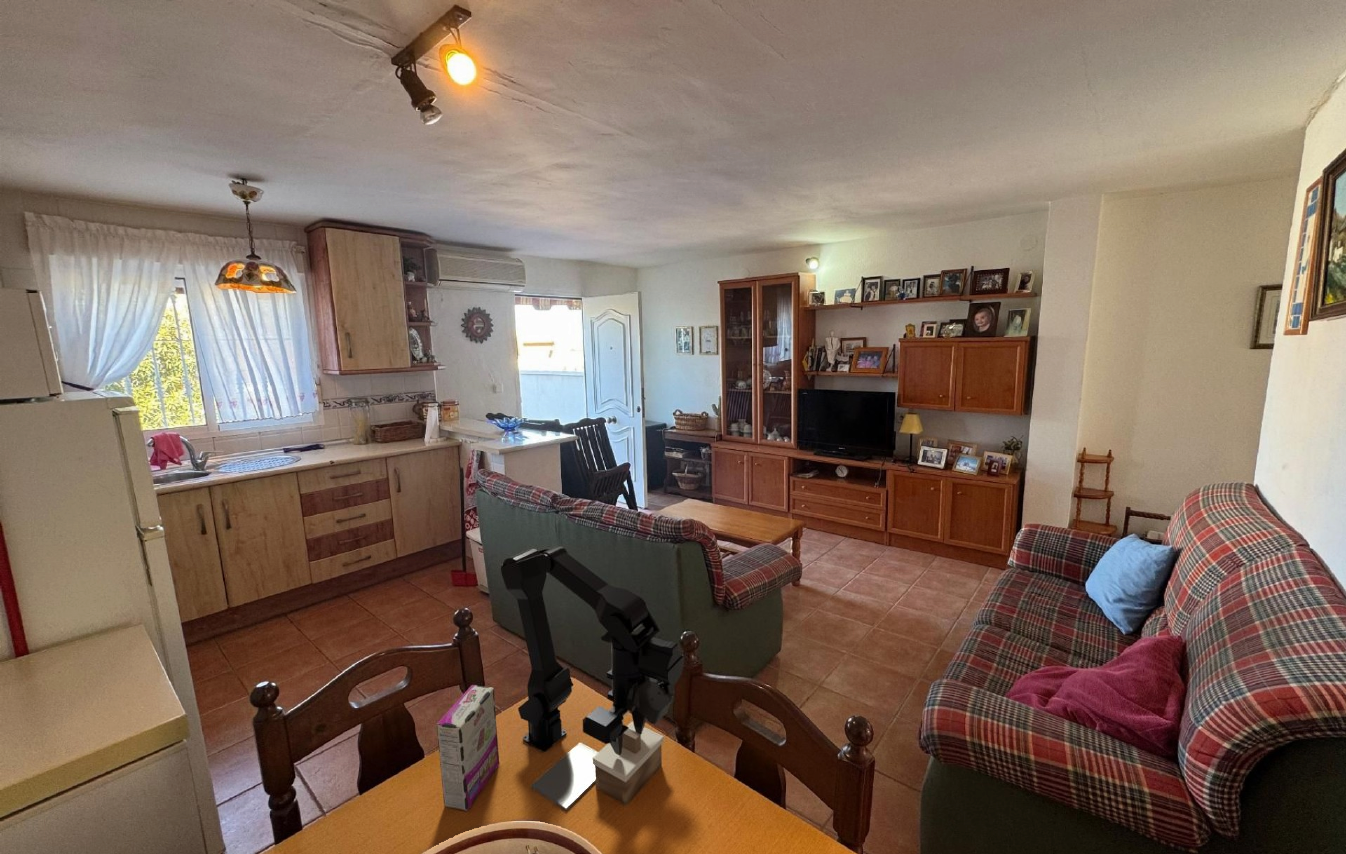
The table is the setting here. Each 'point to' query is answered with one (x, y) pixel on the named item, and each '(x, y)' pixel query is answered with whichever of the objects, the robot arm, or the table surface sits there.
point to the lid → (628, 752)
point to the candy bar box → (468, 746)
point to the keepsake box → (633, 784)
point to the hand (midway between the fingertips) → (628, 743)
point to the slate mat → (568, 777)
